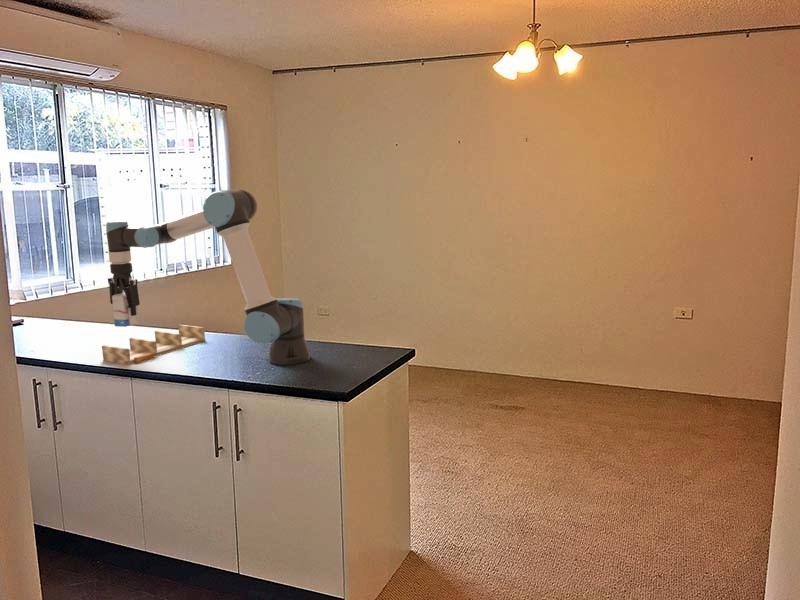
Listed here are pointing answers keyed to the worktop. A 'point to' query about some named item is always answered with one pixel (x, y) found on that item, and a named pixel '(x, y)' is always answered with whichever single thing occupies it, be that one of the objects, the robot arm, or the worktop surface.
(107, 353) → the rack
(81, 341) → the worktop surface
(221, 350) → the worktop surface
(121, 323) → the ink box
